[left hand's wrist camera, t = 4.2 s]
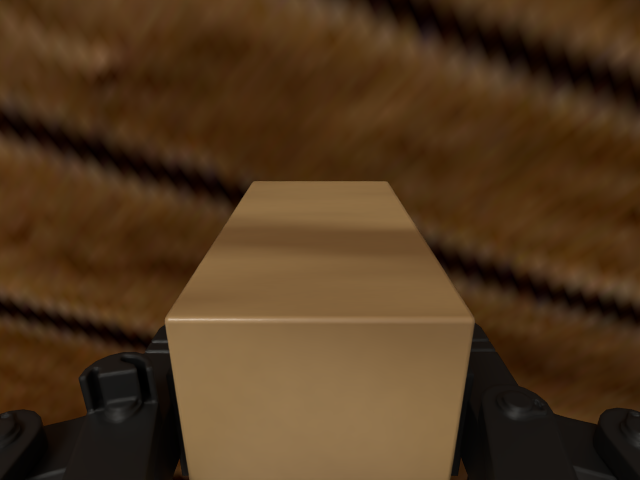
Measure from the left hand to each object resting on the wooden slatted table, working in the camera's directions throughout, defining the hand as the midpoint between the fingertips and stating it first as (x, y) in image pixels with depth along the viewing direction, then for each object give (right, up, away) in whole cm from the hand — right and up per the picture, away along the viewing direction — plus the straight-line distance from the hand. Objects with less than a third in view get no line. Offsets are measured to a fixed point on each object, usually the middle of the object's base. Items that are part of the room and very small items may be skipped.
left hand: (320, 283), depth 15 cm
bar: (0, -7, +3) cm, 8 cm away
